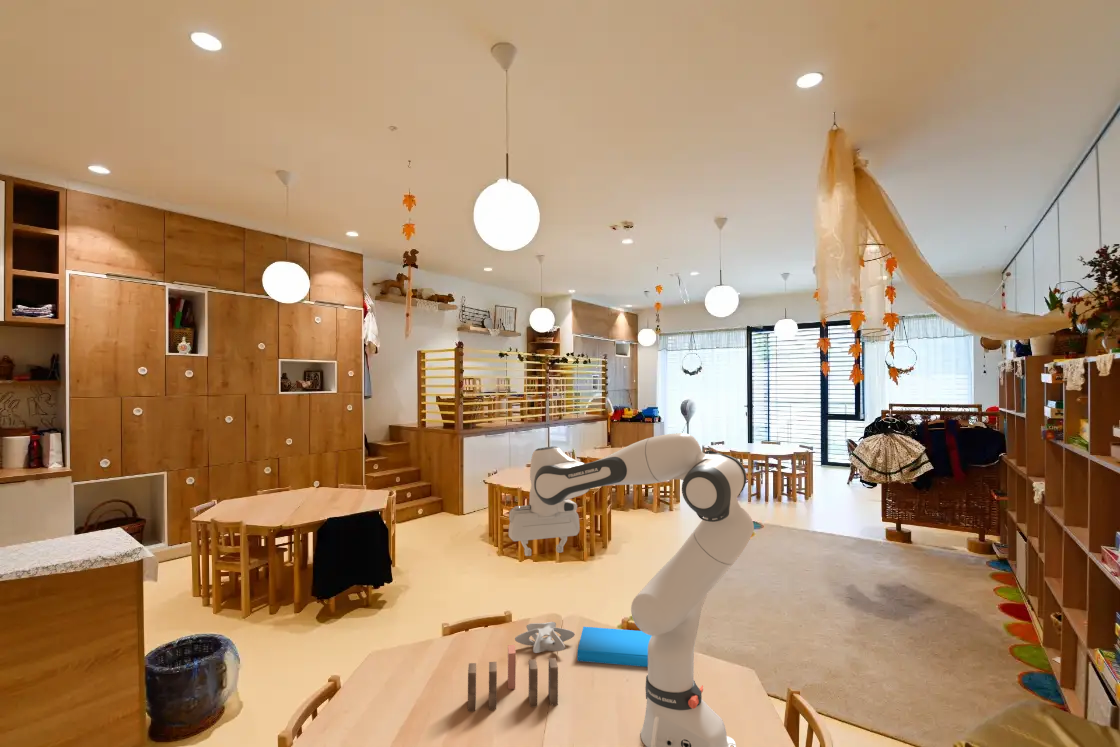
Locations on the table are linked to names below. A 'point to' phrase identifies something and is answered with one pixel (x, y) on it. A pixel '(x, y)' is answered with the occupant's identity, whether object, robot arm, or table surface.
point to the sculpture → (546, 642)
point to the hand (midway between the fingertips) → (543, 553)
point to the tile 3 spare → (511, 666)
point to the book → (613, 646)
